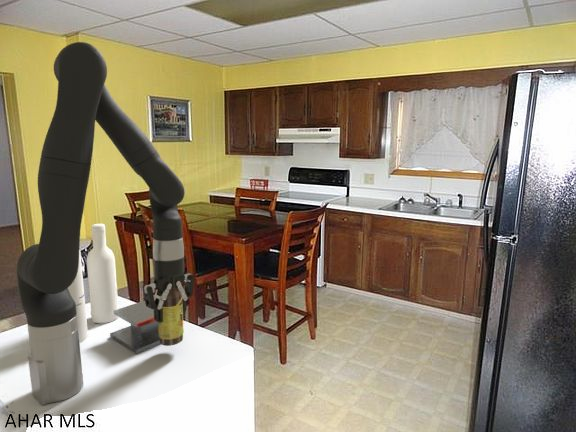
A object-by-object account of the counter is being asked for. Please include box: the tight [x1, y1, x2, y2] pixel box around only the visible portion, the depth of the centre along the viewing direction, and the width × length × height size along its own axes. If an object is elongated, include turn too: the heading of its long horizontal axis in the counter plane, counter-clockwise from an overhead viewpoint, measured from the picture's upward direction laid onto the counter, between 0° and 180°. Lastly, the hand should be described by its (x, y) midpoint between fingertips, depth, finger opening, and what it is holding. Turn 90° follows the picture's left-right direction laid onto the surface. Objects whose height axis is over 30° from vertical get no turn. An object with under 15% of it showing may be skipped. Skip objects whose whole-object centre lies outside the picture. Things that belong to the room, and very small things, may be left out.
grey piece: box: [109, 300, 161, 355], centre depth 113 cm, size 14×14×8 cm
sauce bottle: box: [158, 276, 185, 347], centre depth 103 cm, size 6×6×20 cm
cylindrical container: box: [68, 249, 89, 343], centre depth 109 cm, size 7×7×25 cm
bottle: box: [86, 223, 120, 324], centre depth 122 cm, size 8×8×30 cm
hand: (170, 317), depth 103 cm, fingers closed on sauce bottle, 6 cm apart
